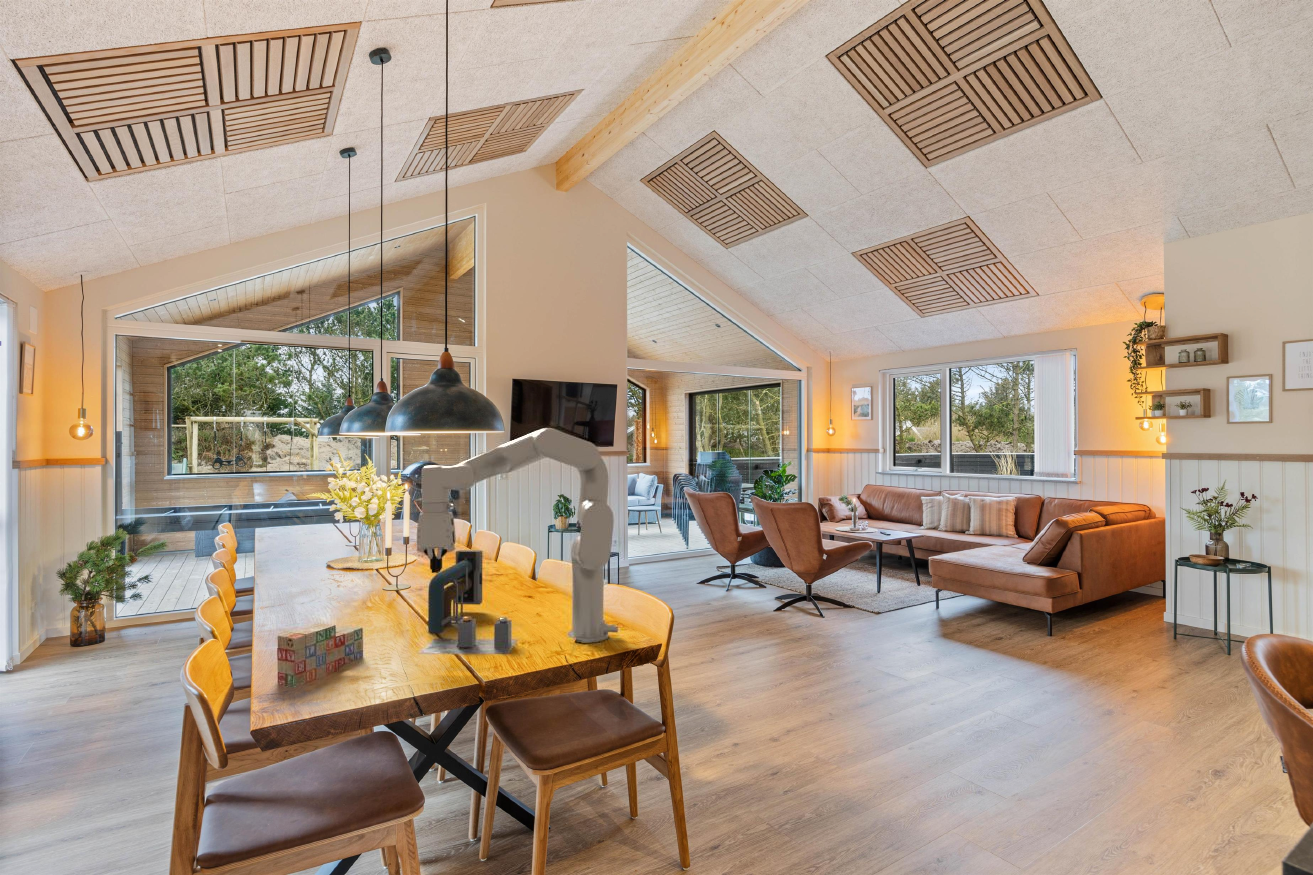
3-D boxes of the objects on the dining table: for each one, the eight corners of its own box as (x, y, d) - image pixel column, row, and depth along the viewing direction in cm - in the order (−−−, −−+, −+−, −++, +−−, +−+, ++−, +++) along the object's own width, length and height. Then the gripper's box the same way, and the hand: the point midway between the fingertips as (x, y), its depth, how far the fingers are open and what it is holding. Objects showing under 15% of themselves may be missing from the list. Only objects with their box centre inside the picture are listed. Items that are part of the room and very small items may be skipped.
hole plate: (518, 642, 203) (518, 638, 203) (507, 658, 189) (507, 653, 189) (434, 642, 203) (434, 638, 203) (417, 657, 189) (417, 653, 189)
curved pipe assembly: (443, 640, 205) (443, 569, 205) (415, 639, 206) (415, 569, 206) (482, 611, 240) (482, 550, 240) (458, 610, 241) (458, 550, 241)
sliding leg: (475, 642, 198) (475, 615, 198) (471, 647, 194) (471, 618, 194) (461, 642, 198) (461, 615, 198) (457, 646, 194) (457, 618, 194)
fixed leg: (511, 644, 198) (511, 616, 198) (508, 648, 194) (508, 620, 194) (497, 643, 198) (497, 616, 198) (494, 648, 194) (494, 620, 194)
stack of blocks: (346, 658, 189) (346, 613, 189) (363, 661, 187) (363, 616, 187) (276, 684, 169) (276, 634, 169) (294, 687, 167) (294, 637, 167)
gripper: (465, 506, 200) (465, 569, 200) (414, 507, 200) (415, 569, 200) (457, 509, 192) (458, 574, 192) (404, 509, 192) (405, 574, 193)
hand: (436, 571), depth 196 cm, fingers closed
